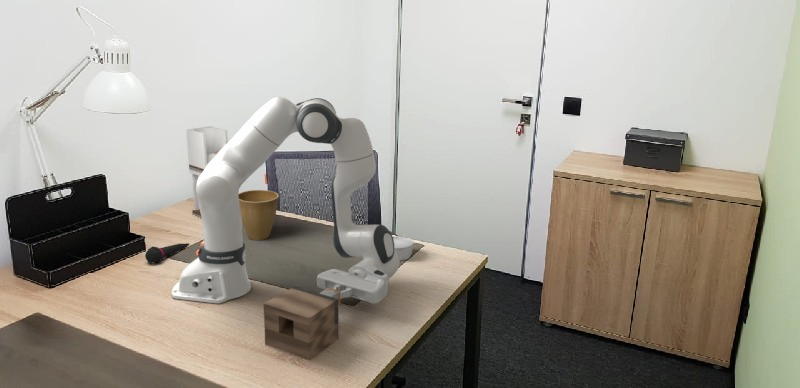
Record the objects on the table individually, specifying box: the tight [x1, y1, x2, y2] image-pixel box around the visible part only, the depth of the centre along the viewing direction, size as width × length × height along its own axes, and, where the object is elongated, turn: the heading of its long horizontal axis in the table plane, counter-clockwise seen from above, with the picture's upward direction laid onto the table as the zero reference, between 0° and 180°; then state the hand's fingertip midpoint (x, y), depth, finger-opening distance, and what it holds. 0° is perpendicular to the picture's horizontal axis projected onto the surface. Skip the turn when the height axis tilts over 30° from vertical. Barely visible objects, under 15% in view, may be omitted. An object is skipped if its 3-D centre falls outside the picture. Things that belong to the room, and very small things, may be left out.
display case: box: [185, 126, 229, 219], centre depth 245 cm, size 11×11×35 cm
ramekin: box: [392, 236, 415, 262], centre depth 213 cm, size 11×11×5 cm
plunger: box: [319, 288, 341, 307], centre depth 161 cm, size 14×4×4 cm, turn 150°
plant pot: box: [238, 189, 279, 241], centre depth 226 cm, size 15×15×16 cm
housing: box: [263, 285, 339, 361], centre depth 156 cm, size 12×14×11 cm
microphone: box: [144, 243, 190, 264], centre depth 209 cm, size 6×6×20 cm
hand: (334, 296), depth 167 cm, fingers closed, pressing on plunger
